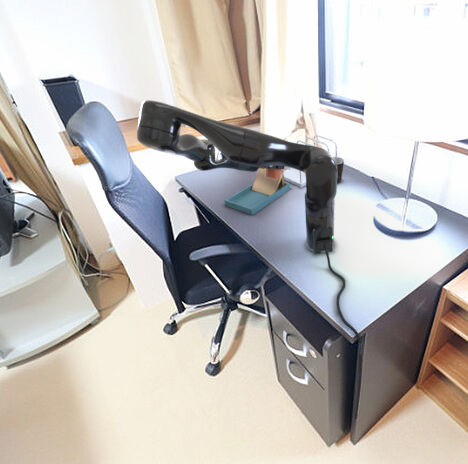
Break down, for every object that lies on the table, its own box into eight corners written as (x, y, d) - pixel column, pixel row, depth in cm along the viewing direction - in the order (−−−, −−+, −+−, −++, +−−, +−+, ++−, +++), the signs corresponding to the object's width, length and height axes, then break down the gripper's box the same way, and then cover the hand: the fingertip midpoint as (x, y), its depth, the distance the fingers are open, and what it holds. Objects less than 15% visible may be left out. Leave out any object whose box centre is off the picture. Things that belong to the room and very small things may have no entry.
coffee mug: (346, 179, 150) (347, 159, 144) (337, 186, 144) (338, 165, 138) (325, 173, 155) (325, 154, 149) (316, 180, 149) (315, 160, 143)
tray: (252, 215, 126) (251, 209, 124) (225, 205, 132) (224, 200, 130) (290, 188, 143) (289, 183, 142) (265, 181, 150) (264, 176, 148)
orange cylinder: (276, 186, 132) (263, 164, 124) (266, 183, 136) (253, 161, 128) (293, 168, 136) (282, 146, 128) (284, 166, 140) (272, 144, 132)
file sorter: (315, 161, 168) (314, 132, 159) (339, 171, 157) (340, 140, 148) (277, 176, 154) (274, 145, 145) (300, 188, 144) (299, 155, 135)
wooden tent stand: (272, 198, 136) (270, 177, 131) (251, 191, 141) (248, 171, 136) (285, 189, 143) (284, 169, 137) (265, 183, 148) (262, 164, 142)
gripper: (233, 167, 127) (266, 171, 139) (254, 173, 117) (288, 177, 130) (235, 148, 125) (269, 154, 137) (257, 153, 116) (291, 158, 128)
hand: (278, 165), depth 133 cm, fingers closed on orange cylinder, 6 cm apart
